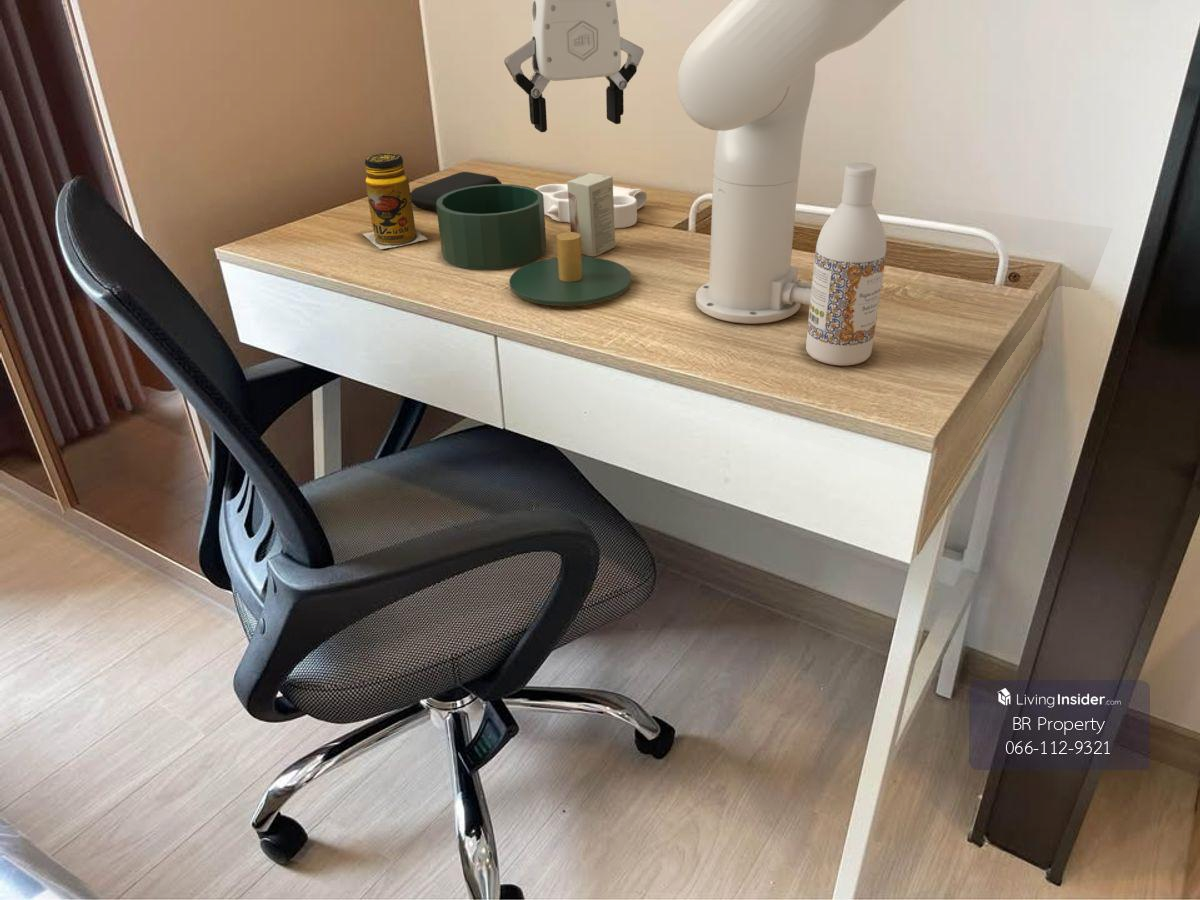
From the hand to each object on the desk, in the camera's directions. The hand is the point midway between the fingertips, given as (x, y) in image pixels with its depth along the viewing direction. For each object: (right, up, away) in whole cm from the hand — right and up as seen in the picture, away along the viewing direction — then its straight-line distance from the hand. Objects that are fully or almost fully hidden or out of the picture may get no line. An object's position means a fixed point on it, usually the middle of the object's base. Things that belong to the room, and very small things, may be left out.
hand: (577, 125), depth 113 cm
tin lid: (-1, -19, +3) cm, 19 cm away
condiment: (-28, -9, +22) cm, 37 cm away
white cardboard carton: (+2, -12, +15) cm, 20 cm away
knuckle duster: (+1, -3, +30) cm, 30 cm away
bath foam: (+29, -30, -15) cm, 44 cm away
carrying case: (-21, +1, +38) cm, 43 cm away
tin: (-12, -12, +16) cm, 23 cm away
